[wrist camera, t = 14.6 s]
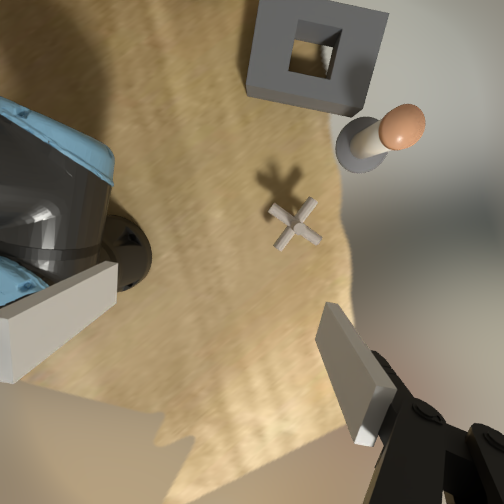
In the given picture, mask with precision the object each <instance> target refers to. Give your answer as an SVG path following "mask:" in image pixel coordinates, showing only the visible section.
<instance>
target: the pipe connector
mask: <svg viewBox="0 0 504 504" xmlns="http://www.w3.org/2000/svg"><path fill="white" fill-rule="evenodd" d="M317 203H318V202H317V201H316V200H314V199H313V198H311V197H310V196H309V197H308V199H307V200H306V201H305V203H304V204H303V205H302V207H301V208H300V209H299V211H298V212H297V214H296V215H295V216H292V215H291V214H290V213H288V212H287V211H286V210H284V209H283V208H281V207H280V206H279V205H277V204H276V203H273V205H272V206H271V207H270V209H269V210H268V212H269V213H271V214H272V215H273V216H275V217H276V218H278V219H279V220H280V221H282V222H283V223H285V224H286V225H287V227H286V228H285V230H284V231H283V233H282V234H281V235H280V237H279V238H278V239H277V241H276V242H275V243H274V245H273V246H274V247H275V248H277V249H278V250H280V251H282V250H283V249H284V247H285V246H286V245H287V243H288V242H289V241H290V239H291V238H292V237H293V235H294V234H297V235H302V236H303V237H304V238H306V239H307V240H309V241H310V242H311V243H313V244H314V245H318V244H319V243H320V241H321V240H322V236H320V235H319V234H318V233H316V232H315V231H313V230H312V229H311V228H309V227H308V226H306V225H305V224H304V223H303V222H304V221H305V219H306V218H307V217H308V215H309V214H310V213H311V211H312V210H313V209H314V207H315V206H316V205H317Z"/></svg>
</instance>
